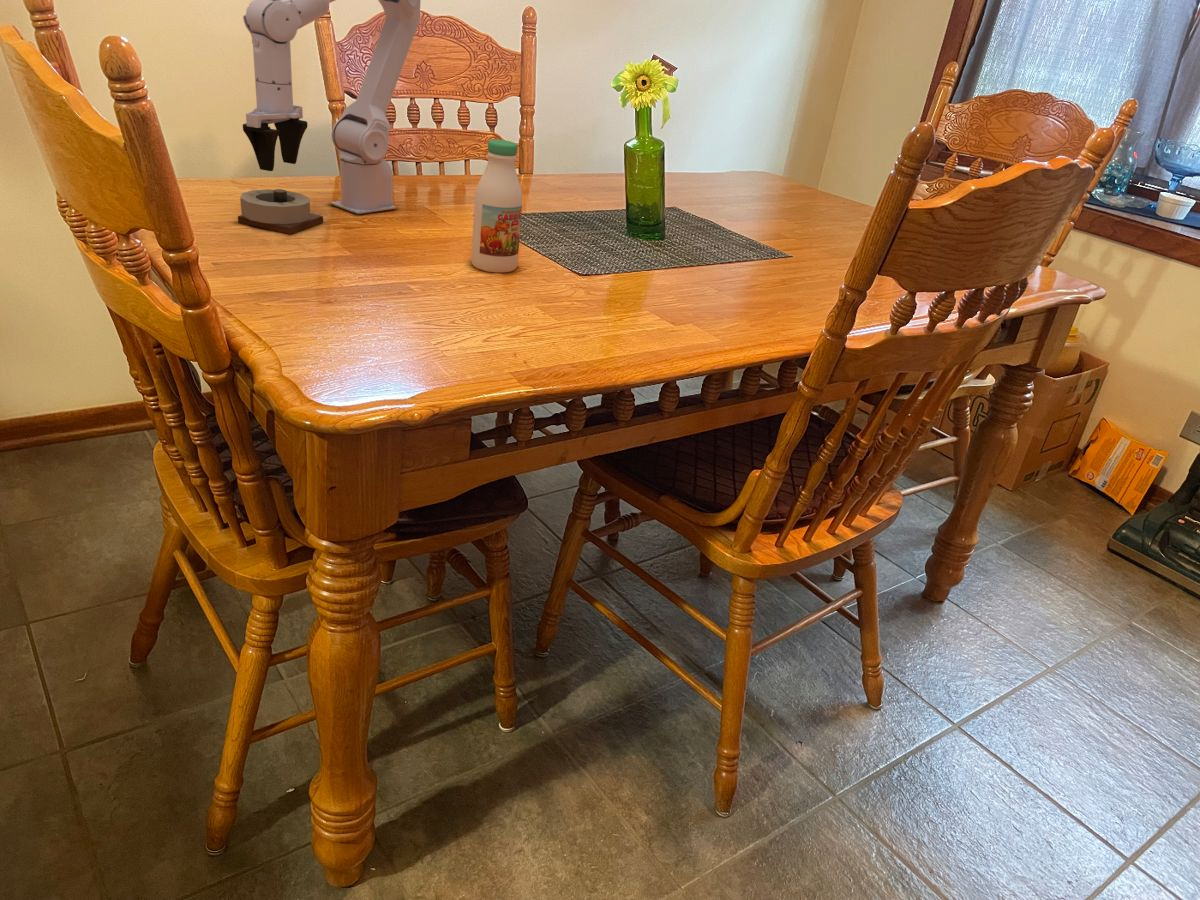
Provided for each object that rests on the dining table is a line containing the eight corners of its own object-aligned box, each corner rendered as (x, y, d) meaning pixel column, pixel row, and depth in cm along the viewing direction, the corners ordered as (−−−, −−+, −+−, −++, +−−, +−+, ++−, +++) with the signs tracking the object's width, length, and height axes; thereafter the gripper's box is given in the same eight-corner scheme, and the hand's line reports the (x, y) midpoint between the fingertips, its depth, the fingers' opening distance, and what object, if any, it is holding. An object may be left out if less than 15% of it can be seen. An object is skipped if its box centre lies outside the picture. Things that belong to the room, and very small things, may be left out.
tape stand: (273, 211, 148) (271, 180, 146) (323, 222, 147) (322, 191, 144) (238, 223, 140) (235, 190, 137) (290, 234, 138) (288, 201, 136)
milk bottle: (462, 266, 136) (469, 139, 126) (484, 256, 142) (492, 134, 133) (503, 277, 134) (514, 149, 124) (524, 266, 140) (535, 144, 131)
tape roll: (310, 208, 149) (309, 191, 148) (310, 225, 140) (309, 208, 139) (244, 204, 146) (243, 187, 144) (239, 222, 137) (238, 203, 135)
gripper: (273, 89, 129) (277, 177, 136) (317, 82, 142) (320, 163, 148) (231, 81, 130) (238, 170, 137) (279, 75, 143) (283, 157, 149)
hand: (278, 166), depth 143 cm, fingers open, 7 cm apart
